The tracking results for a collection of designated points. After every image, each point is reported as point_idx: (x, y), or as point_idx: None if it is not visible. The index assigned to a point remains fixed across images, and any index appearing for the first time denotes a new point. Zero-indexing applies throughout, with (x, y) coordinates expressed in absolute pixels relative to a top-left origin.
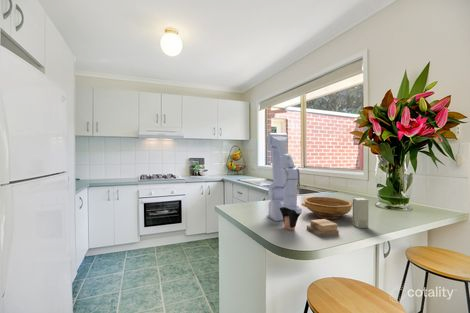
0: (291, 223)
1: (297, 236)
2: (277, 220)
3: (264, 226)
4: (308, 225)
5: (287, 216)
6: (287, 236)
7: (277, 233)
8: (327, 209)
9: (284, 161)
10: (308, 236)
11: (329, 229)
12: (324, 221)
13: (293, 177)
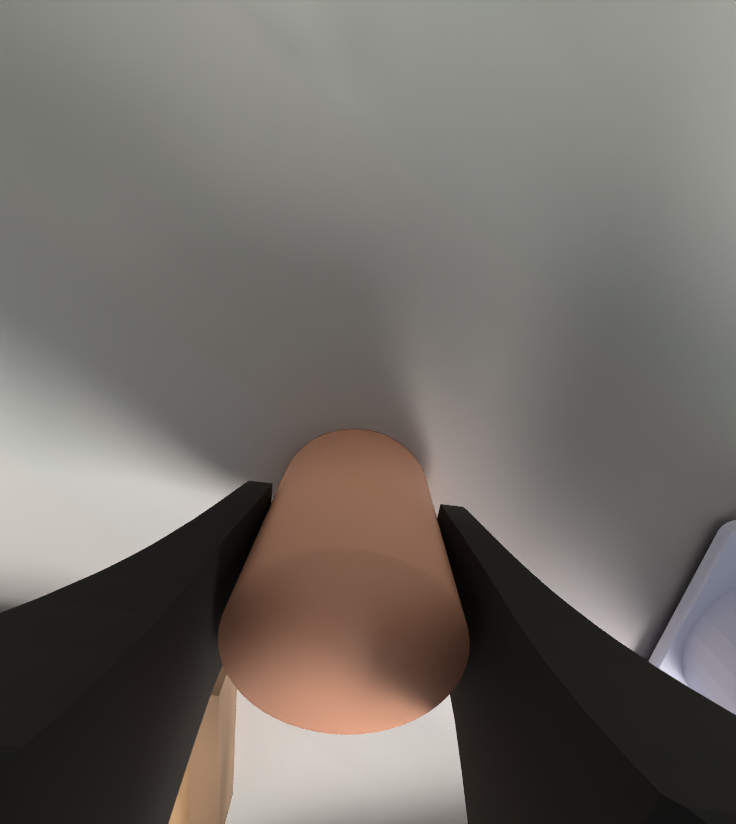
0: (204, 521)
1: (40, 392)
2: (710, 550)
3: (664, 167)
4: (212, 713)
5: (430, 651)
6: (67, 246)
7: (240, 168)
8: None
9: None
10: (18, 518)
11: None
12: None
13: None
